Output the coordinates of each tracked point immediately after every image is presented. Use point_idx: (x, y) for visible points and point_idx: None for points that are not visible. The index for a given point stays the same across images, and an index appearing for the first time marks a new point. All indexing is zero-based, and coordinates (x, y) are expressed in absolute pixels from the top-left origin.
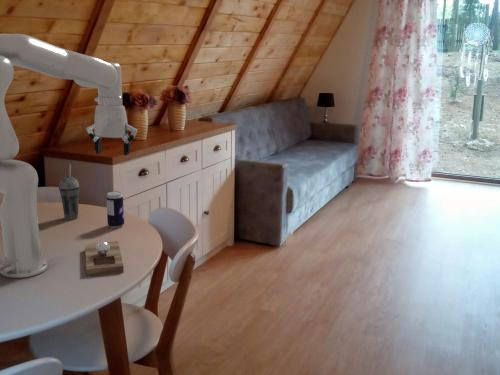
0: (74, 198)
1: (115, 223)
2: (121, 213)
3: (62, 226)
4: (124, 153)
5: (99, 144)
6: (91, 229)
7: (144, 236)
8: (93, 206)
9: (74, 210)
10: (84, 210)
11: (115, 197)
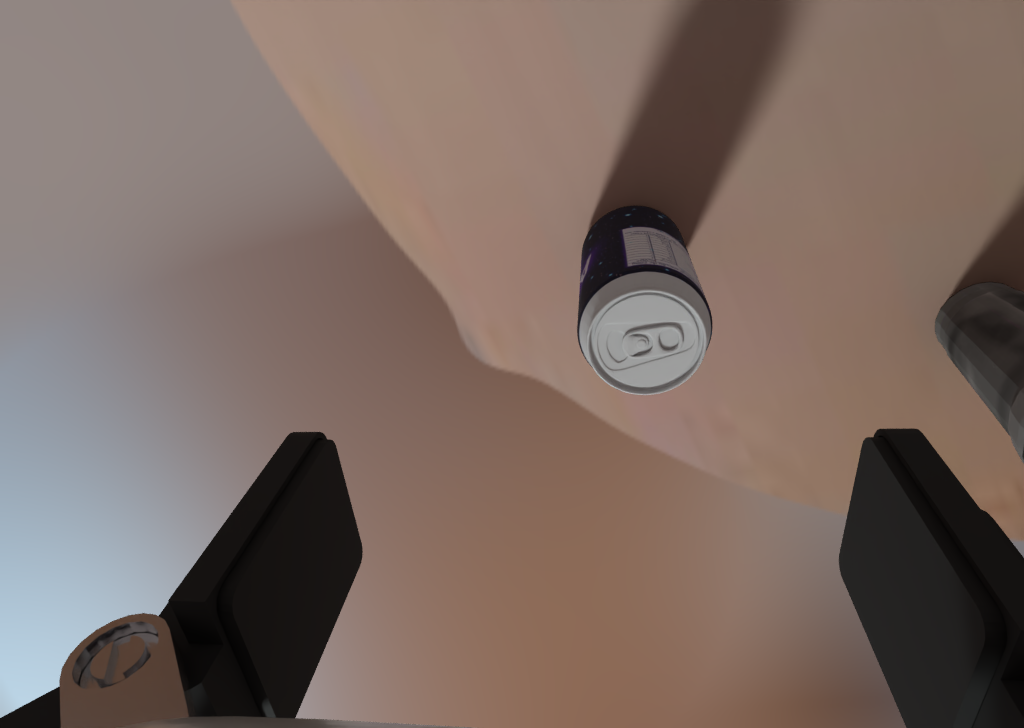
0: (1018, 362)
1: (614, 214)
2: (583, 266)
3: (995, 151)
4: (302, 446)
5: (927, 637)
6: (765, 150)
7: (383, 123)
8: None
9: (975, 322)
10: None
11: (613, 288)
